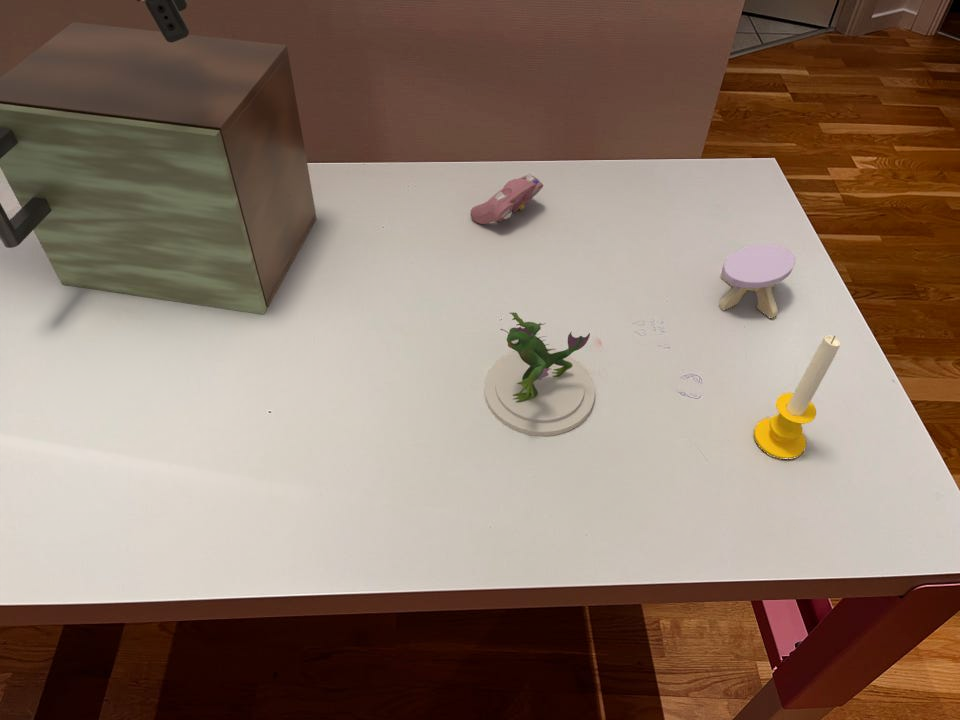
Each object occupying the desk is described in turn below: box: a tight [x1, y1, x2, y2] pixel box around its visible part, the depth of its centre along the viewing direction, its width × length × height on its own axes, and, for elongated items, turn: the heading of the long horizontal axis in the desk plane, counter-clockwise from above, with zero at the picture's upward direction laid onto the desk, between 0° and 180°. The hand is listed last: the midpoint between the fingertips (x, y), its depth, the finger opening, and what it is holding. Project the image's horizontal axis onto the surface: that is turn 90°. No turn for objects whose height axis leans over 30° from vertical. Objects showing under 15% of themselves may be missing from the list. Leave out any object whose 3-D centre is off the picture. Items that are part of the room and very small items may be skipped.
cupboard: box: [0, 22, 318, 309], centre depth 87 cm, size 18×26×24 cm
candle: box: [753, 334, 841, 459], centre depth 72 cm, size 5×5×16 cm
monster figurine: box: [483, 312, 596, 437], centre depth 77 cm, size 12×12×10 cm
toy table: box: [718, 243, 796, 319], centre depth 90 cm, size 10×9×6 cm
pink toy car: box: [469, 173, 544, 225], centre depth 100 cm, size 10×5×7 cm, turn 137°
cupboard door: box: [0, 104, 268, 315], centre depth 79 cm, size 8×26×24 cm, turn 80°
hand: (178, 24), depth 71 cm, fingers open, 8 cm apart
